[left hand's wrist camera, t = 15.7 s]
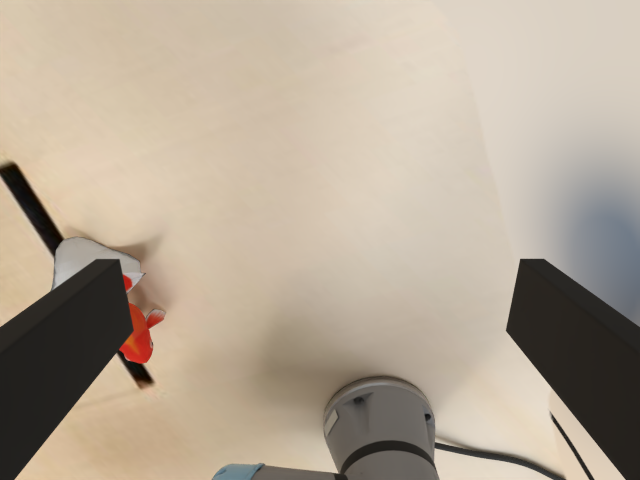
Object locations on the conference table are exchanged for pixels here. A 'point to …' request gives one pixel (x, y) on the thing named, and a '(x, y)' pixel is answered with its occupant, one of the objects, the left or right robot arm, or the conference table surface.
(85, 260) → the fish
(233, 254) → the conference table surface
